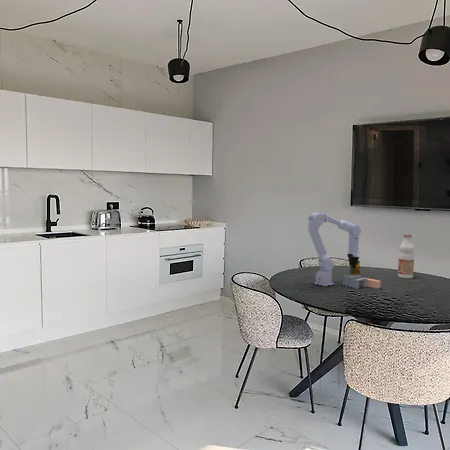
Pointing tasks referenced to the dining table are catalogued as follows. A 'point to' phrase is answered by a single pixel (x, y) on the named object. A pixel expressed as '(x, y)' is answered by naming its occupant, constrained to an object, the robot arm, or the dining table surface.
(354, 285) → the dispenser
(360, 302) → the dining table surface
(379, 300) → the dining table surface
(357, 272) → the condiment
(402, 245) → the fruit juice
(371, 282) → the peach rectangular block
